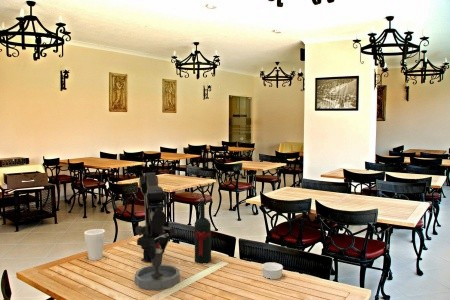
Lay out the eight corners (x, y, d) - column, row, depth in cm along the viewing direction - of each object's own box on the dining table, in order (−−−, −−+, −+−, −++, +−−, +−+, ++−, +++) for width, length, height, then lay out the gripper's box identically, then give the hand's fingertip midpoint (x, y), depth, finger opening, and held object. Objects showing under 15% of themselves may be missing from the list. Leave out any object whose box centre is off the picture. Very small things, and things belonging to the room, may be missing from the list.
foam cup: (98, 253, 194) (97, 227, 193) (109, 256, 188) (108, 230, 187) (81, 258, 186) (80, 232, 185) (93, 262, 181) (91, 235, 180)
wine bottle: (192, 265, 176) (191, 200, 174) (196, 257, 186) (195, 196, 184) (209, 266, 175) (208, 201, 173) (212, 258, 185) (211, 196, 183)
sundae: (161, 278, 156) (161, 242, 156) (146, 277, 158) (145, 241, 157) (167, 273, 163) (167, 237, 162) (152, 272, 164) (152, 237, 164)
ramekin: (285, 273, 166) (285, 264, 166) (279, 281, 158) (279, 271, 158) (265, 270, 170) (265, 261, 169) (258, 278, 162) (258, 268, 161)
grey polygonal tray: (152, 269, 173) (152, 262, 172) (187, 275, 165) (187, 268, 165) (126, 284, 156) (125, 277, 156) (163, 293, 149) (162, 285, 148)
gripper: (153, 212, 170) (154, 246, 172) (125, 223, 154) (126, 261, 155) (174, 215, 166) (175, 250, 167) (148, 226, 149) (149, 265, 150)
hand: (156, 256), depth 160 cm, fingers closed on sundae, 6 cm apart
